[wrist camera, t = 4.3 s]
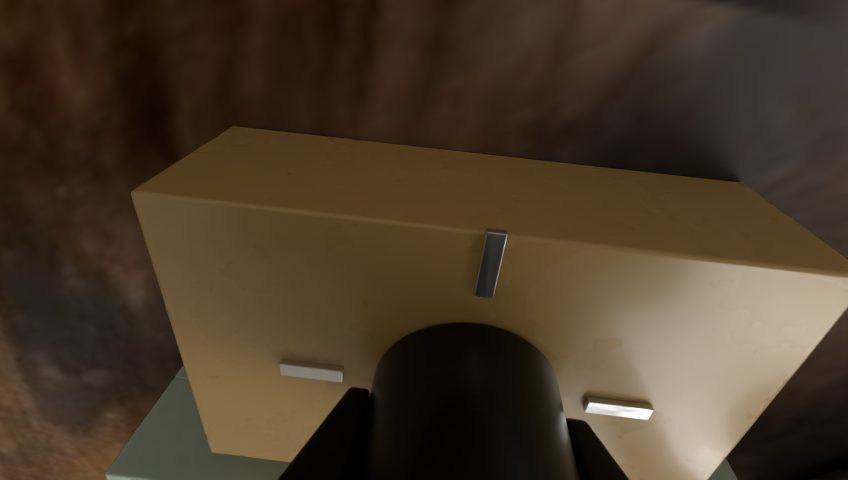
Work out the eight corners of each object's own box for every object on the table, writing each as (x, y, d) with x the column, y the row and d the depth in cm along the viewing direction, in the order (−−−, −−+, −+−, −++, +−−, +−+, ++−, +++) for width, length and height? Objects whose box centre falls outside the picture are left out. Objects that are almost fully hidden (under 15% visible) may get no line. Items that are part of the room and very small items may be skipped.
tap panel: (745, 178, 10) (889, 278, 7) (631, 392, 15) (683, 521, 11) (231, 120, 11) (118, 189, 7) (267, 348, 15) (207, 461, 12)
